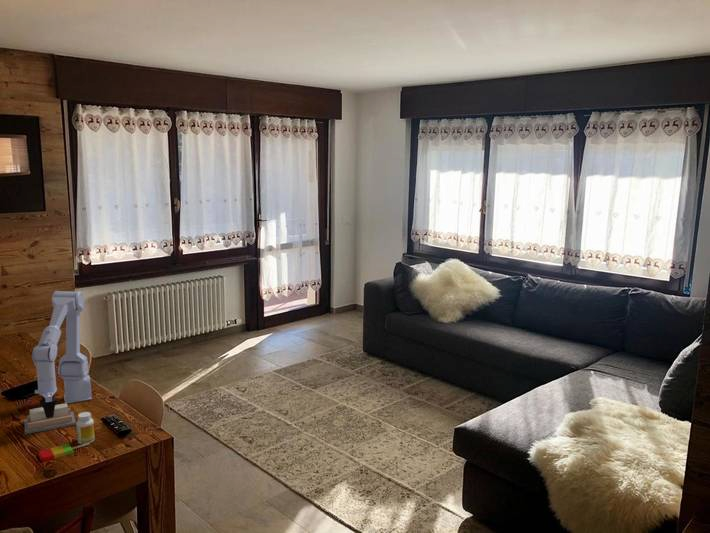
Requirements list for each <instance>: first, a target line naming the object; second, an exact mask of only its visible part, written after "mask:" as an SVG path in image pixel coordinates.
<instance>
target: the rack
mask: <svg viewBox="0 0 710 533" xmlns="http://www.w3.org/2000/svg"><path fill="white" fill-rule="evenodd" d="M26 418H27V419H24V420H23V423H24V435H28V434H33V433H39V432H46V431H50V430H56V429H61V428H65V427H71V426H76V423H77V421H76V418H75V414H74V411H73V410H71V408H70V407H68V416H64V417H59V418H53V419H48V420H42V421H36V422H31V421H30V414H29V415H27V416H26Z"/></svg>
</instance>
